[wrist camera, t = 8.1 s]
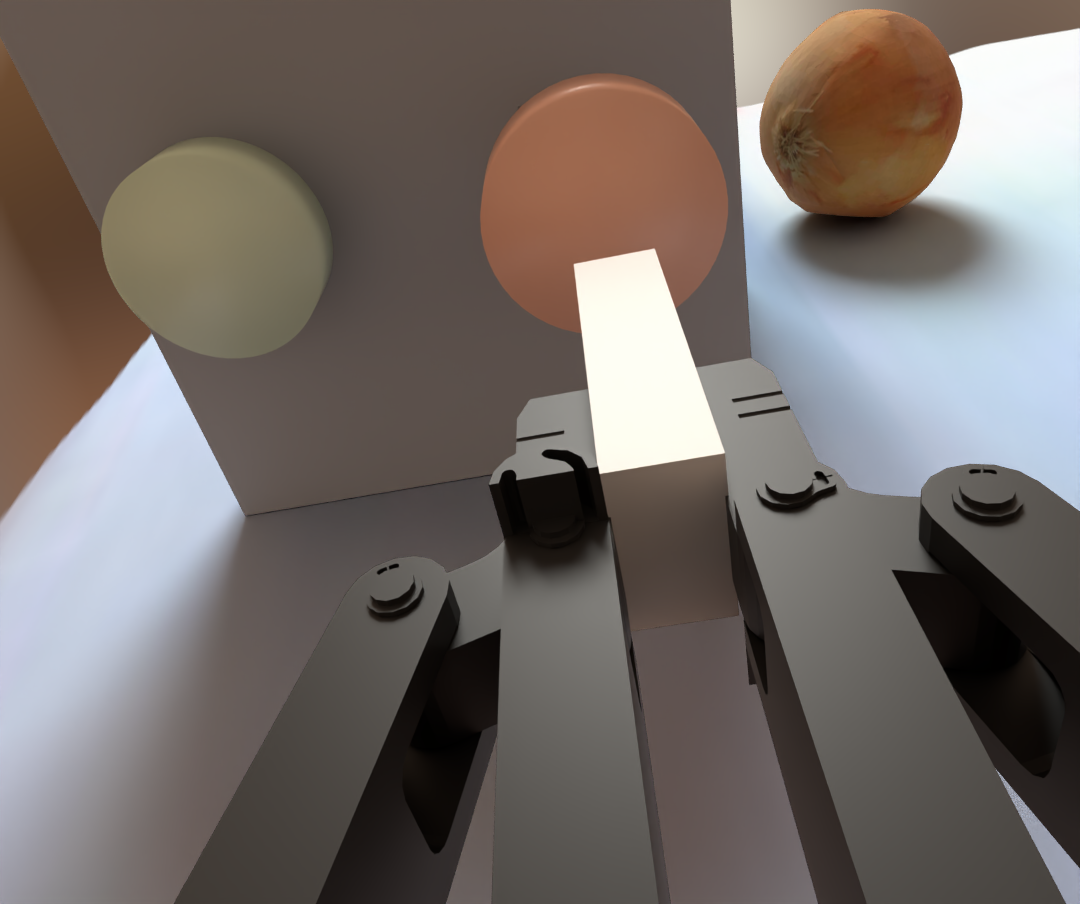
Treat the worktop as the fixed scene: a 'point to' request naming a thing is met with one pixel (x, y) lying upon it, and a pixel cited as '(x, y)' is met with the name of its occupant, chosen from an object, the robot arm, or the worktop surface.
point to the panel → (376, 204)
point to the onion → (861, 115)
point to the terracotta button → (599, 191)
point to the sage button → (218, 247)
